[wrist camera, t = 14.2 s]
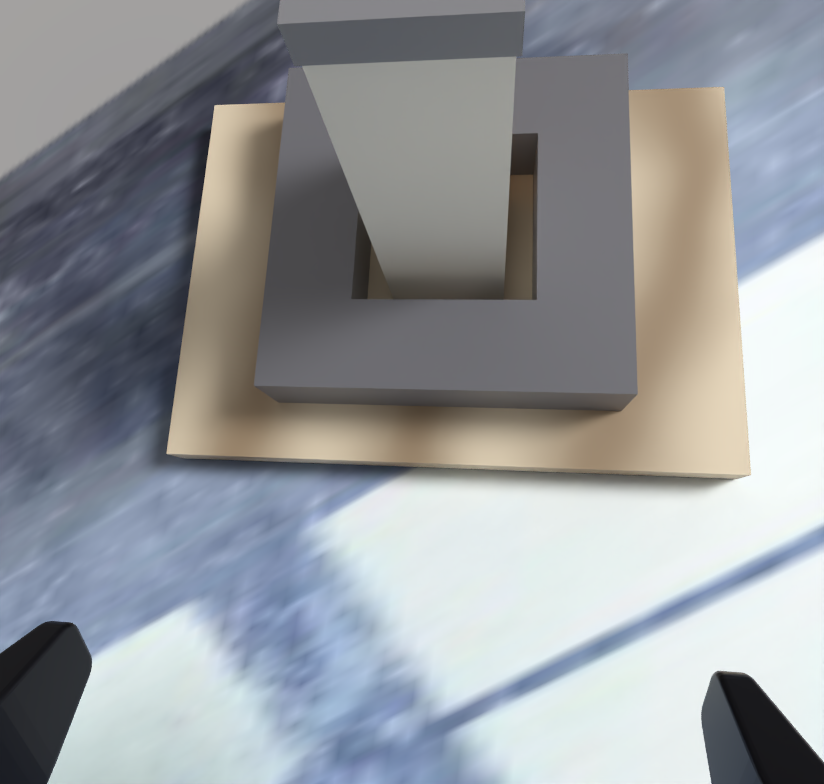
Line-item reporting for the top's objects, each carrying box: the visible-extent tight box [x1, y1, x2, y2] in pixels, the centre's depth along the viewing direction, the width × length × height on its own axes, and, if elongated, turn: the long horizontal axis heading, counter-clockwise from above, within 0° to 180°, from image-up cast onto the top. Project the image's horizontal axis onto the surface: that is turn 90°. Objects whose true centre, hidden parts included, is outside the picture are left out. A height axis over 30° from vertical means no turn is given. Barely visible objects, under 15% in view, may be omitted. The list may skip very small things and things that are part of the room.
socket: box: [254, 54, 638, 411], centre depth 23 cm, size 12×12×2 cm
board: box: [166, 87, 751, 479], centre depth 24 cm, size 20×14×1 cm
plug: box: [277, 0, 525, 300], centre depth 18 cm, size 4×5×13 cm
